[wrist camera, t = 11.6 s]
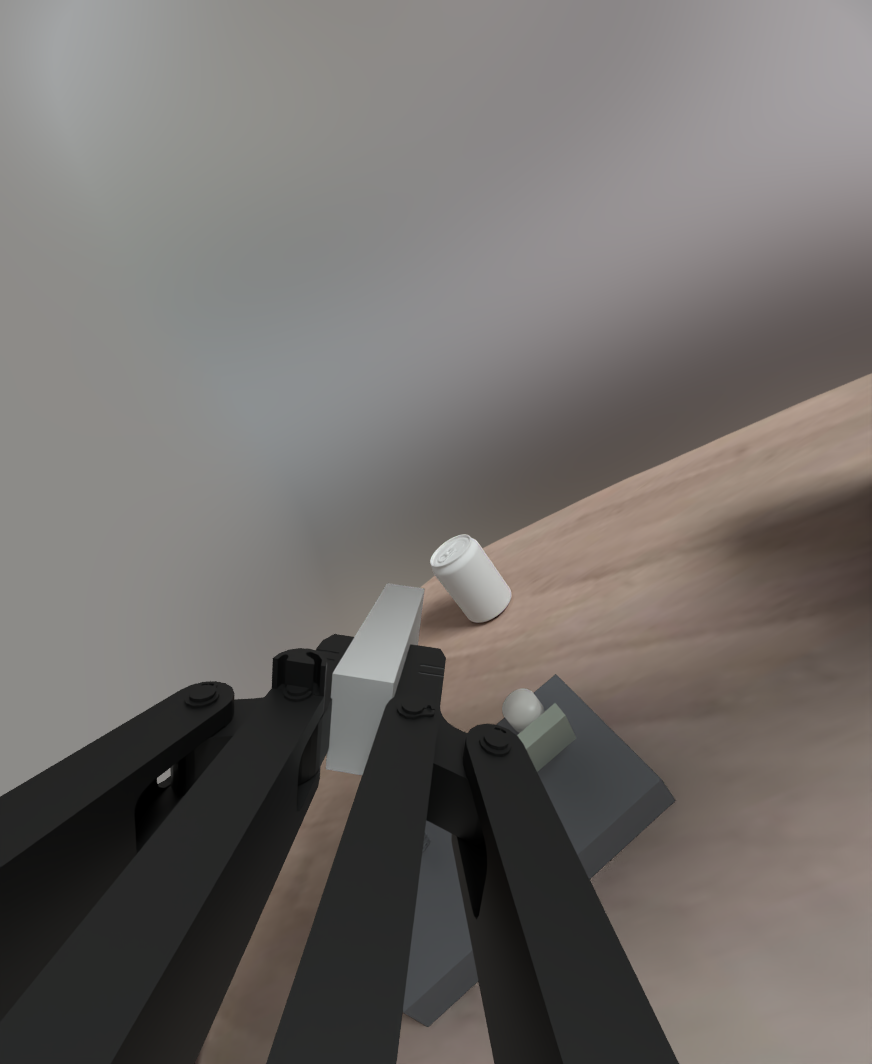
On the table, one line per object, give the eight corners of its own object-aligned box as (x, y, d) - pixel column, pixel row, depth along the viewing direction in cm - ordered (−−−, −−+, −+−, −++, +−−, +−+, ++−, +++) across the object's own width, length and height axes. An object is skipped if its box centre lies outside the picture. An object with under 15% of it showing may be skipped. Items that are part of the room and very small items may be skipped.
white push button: (532, 693, 42) (524, 682, 41) (551, 715, 39) (542, 704, 38) (505, 715, 42) (496, 705, 41) (522, 740, 38) (512, 729, 38)
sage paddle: (568, 727, 36) (555, 702, 28) (576, 737, 35) (565, 715, 27) (529, 760, 35) (505, 745, 28) (537, 771, 35) (515, 758, 27)
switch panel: (568, 691, 44) (555, 674, 43) (675, 800, 31) (661, 779, 30) (392, 842, 42) (374, 828, 41) (427, 1027, 29) (403, 1012, 28)
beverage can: (523, 597, 62) (482, 537, 58) (483, 633, 60) (439, 575, 56) (496, 581, 69) (459, 528, 65) (461, 613, 68) (420, 561, 64)
